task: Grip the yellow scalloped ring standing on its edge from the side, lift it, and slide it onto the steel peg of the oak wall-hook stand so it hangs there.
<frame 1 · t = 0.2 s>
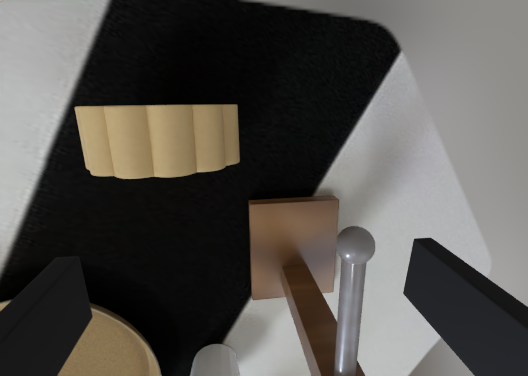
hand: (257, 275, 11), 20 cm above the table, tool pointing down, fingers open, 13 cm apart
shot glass: (215, 359, 37), on the table
plant saucer: (65, 365, 35), on the table
hook stand: (291, 245, 34), on the table
yellow scalloped ring: (177, 129, 29), on the table
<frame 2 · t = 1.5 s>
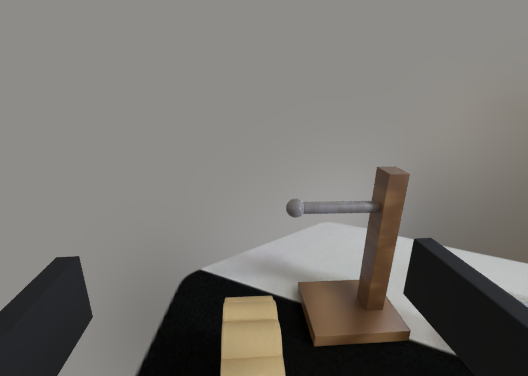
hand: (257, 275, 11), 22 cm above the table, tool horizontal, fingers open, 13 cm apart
hook stand: (347, 313, 39), on the table
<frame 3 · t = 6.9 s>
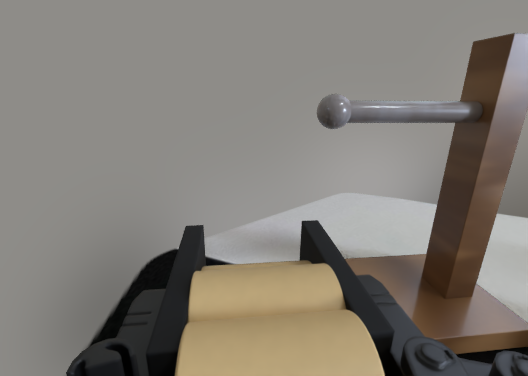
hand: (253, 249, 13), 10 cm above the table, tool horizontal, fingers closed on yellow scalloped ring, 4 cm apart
hook stand: (409, 304, 24), on the table
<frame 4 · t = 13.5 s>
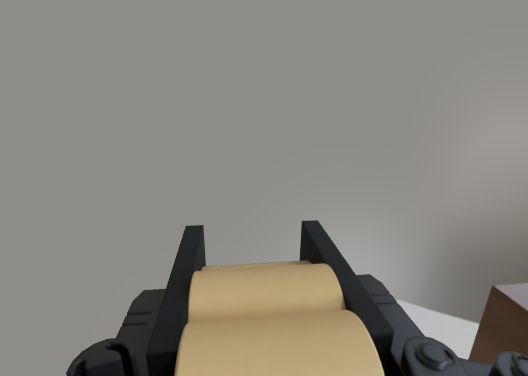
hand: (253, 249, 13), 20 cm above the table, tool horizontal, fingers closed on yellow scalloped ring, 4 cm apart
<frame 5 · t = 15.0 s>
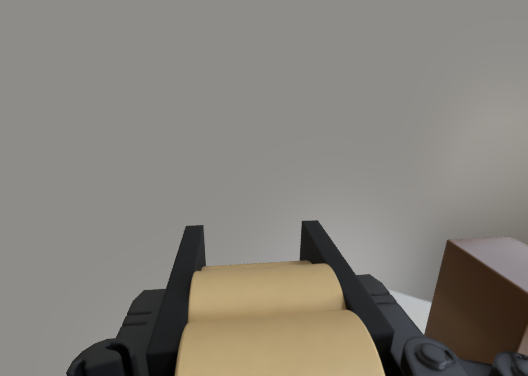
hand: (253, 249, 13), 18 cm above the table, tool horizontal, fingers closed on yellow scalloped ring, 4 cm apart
when the fingers open (20 cm above the table, at t = 20.4 s): yellow scalloped ring drops 2 cm, resting on hook stand.
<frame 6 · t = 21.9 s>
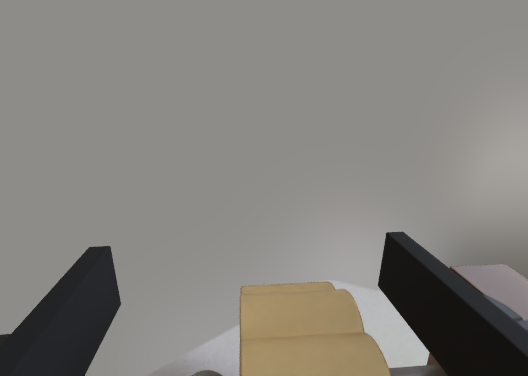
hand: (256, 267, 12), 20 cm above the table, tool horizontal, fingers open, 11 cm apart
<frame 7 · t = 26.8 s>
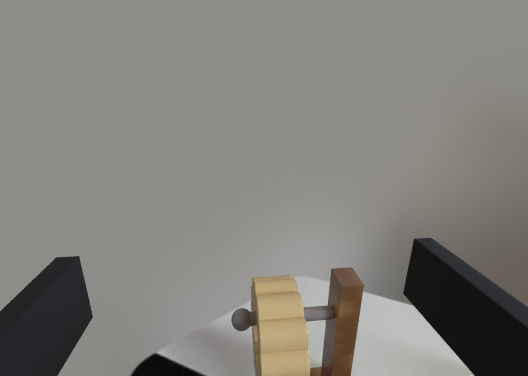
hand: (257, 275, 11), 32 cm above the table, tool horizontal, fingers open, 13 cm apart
yellow scalloped ring: (274, 370, 33), point 8 cm above the table, touching hook stand
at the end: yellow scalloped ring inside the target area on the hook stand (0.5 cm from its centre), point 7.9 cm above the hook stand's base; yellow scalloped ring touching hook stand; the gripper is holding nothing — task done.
